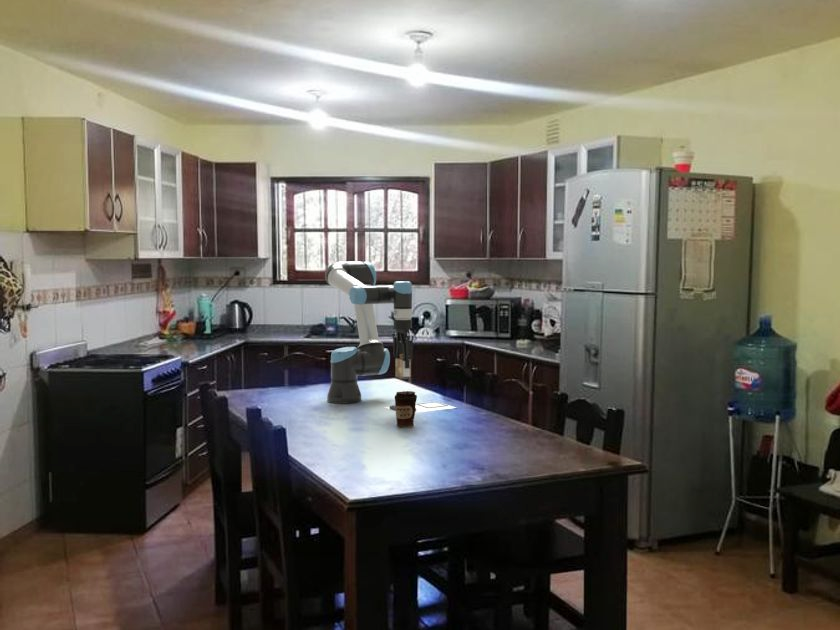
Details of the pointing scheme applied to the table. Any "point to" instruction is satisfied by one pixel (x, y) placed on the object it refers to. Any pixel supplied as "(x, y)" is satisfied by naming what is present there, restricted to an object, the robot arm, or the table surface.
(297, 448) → the table surface
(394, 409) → the ink pad
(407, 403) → the coffee cup
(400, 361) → the stamp
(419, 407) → the sheet
